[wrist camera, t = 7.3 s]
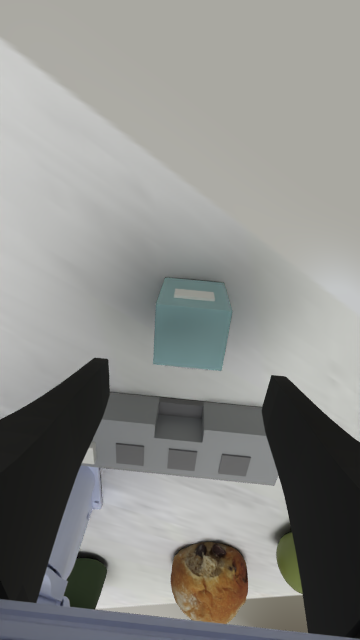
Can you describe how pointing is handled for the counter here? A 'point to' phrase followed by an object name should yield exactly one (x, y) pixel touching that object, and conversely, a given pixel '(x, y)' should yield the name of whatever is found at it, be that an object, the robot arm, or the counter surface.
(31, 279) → the counter surface
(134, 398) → the power strip
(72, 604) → the character mug
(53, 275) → the counter surface
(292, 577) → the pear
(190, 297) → the block
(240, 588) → the bread roll
